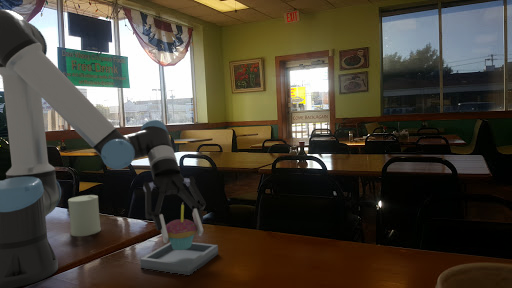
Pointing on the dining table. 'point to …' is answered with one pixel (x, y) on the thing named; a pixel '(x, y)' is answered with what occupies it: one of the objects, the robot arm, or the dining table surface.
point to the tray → (179, 258)
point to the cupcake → (181, 232)
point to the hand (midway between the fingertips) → (184, 236)
